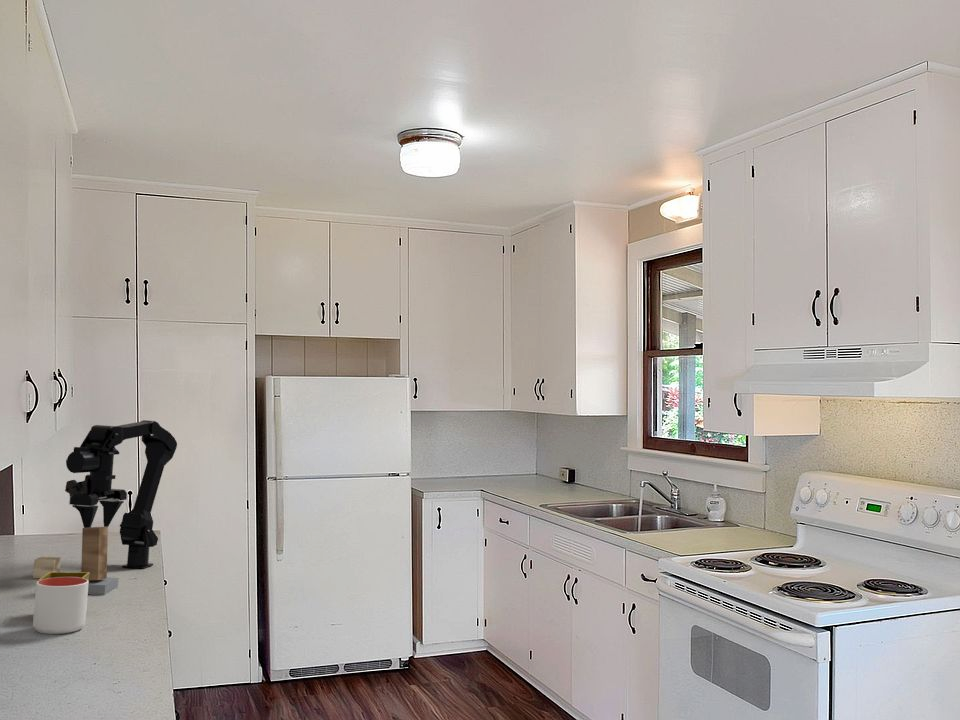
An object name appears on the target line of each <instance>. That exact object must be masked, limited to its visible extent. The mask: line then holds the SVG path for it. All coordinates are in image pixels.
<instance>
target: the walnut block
mask: <svg viewBox="0 0 960 720" xmlns="http://www.w3.org/2000/svg"><path fill="white" fill-rule="evenodd" d="M81 531H82V536H81V537H82V539H81V564H80V566H81V568H80V572H89V573H90V574H89V580H101V579H106V578H108V577H107V576H108V575H107V574H108V545H109V544H108V540H109V538H108V537H109V535H108V534H109V526H108V527H104V526H91V527H89V528H84V527H83V528H82V530H81Z"/></svg>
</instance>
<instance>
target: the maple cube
mask: <svg viewBox="0 0 960 720" xmlns="http://www.w3.org/2000/svg"><path fill="white" fill-rule="evenodd" d="M61 558H62V557H61V556H40V557H38V558H36V559H33V560H34V562H33V573H32V574H33V575H32V579H33V578H42V577H43V576H45V575H46V574H47V573H49V572H60V571H61V570H60V569H61Z"/></svg>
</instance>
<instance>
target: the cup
mask: <svg viewBox="0 0 960 720" xmlns="http://www.w3.org/2000/svg"><path fill="white" fill-rule="evenodd" d="M88 583H89V581H88V580H87V579H84V578H78V577H56V578H48V579H43V580H40V581H38V580H37V581H36V583H35V595H34V597H35V598H34V607H33V619H32V621H33V622H32V626H33V629H34V631H36V632H38V633H41V634H47V635H64V634H70V633H74V632H76V631H79V630H81V629H83V628H84V626H85V625H86V620H87V619H86V618H87V607H88V606H87V605H88V596H89V595H88Z"/></svg>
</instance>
